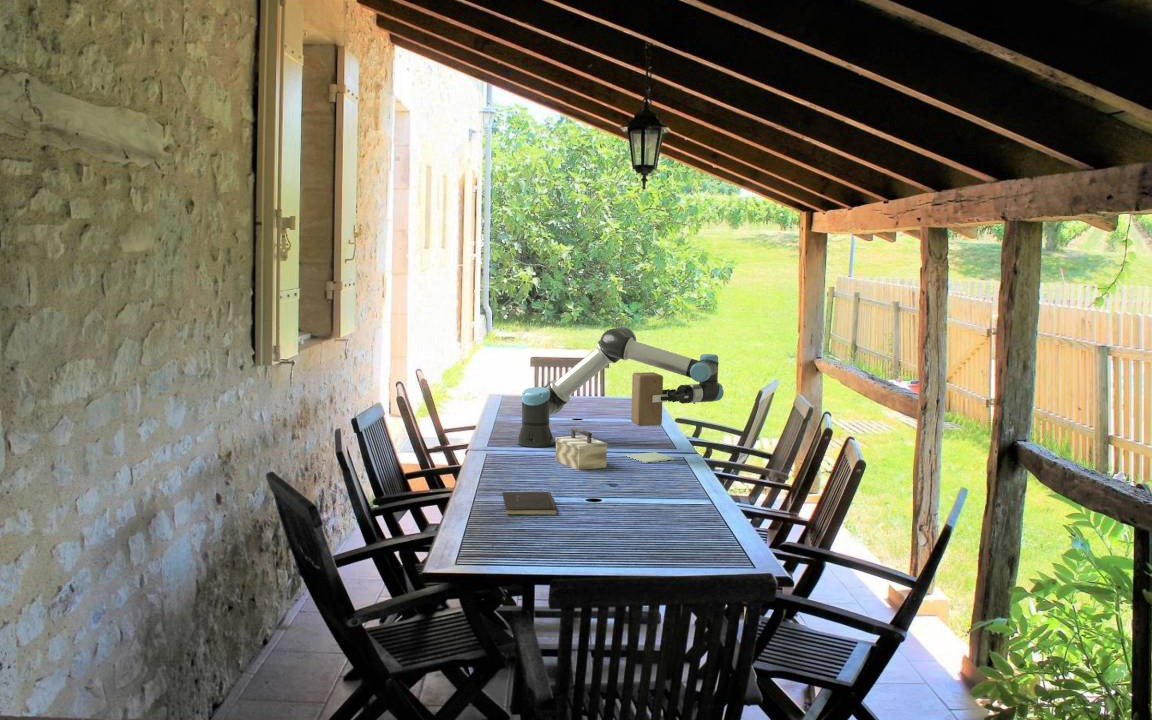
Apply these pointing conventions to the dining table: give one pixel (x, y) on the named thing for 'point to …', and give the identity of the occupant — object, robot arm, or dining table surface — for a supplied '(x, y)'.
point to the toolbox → (581, 451)
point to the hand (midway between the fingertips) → (644, 396)
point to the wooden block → (646, 399)
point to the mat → (650, 457)
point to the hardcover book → (529, 503)
